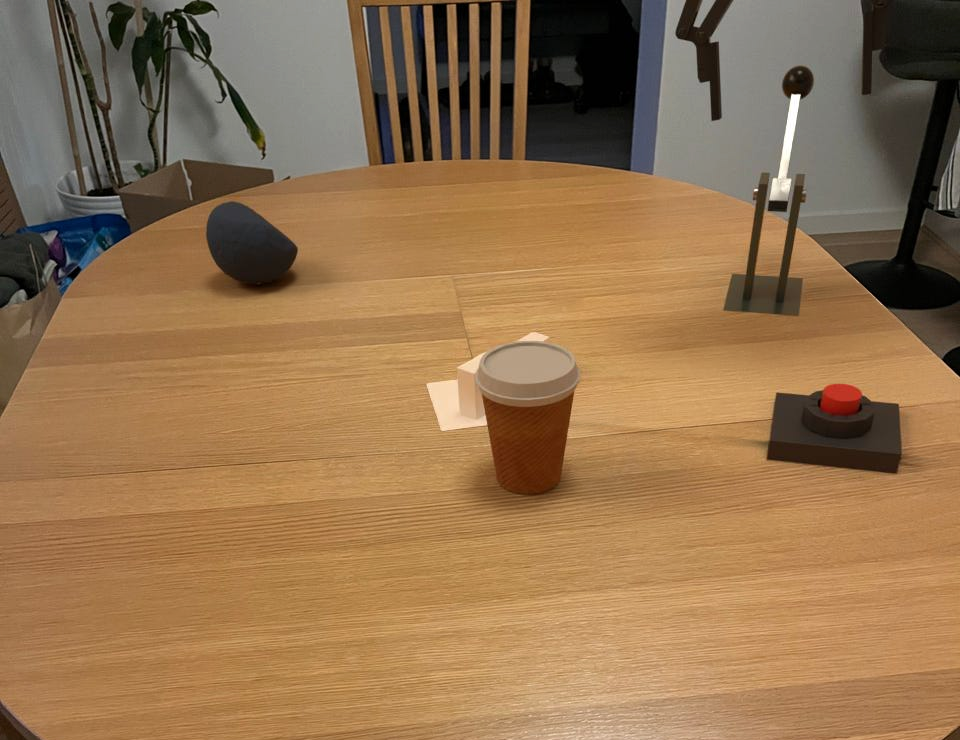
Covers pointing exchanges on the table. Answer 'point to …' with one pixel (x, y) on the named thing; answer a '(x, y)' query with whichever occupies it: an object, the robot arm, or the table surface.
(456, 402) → the napkin holder
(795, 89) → the lever
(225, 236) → the decorative stone
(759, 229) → the bracket
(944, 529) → the table surface
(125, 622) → the table surface
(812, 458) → the button box
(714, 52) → the robot arm
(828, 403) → the button
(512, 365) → the disposable coffee cup
